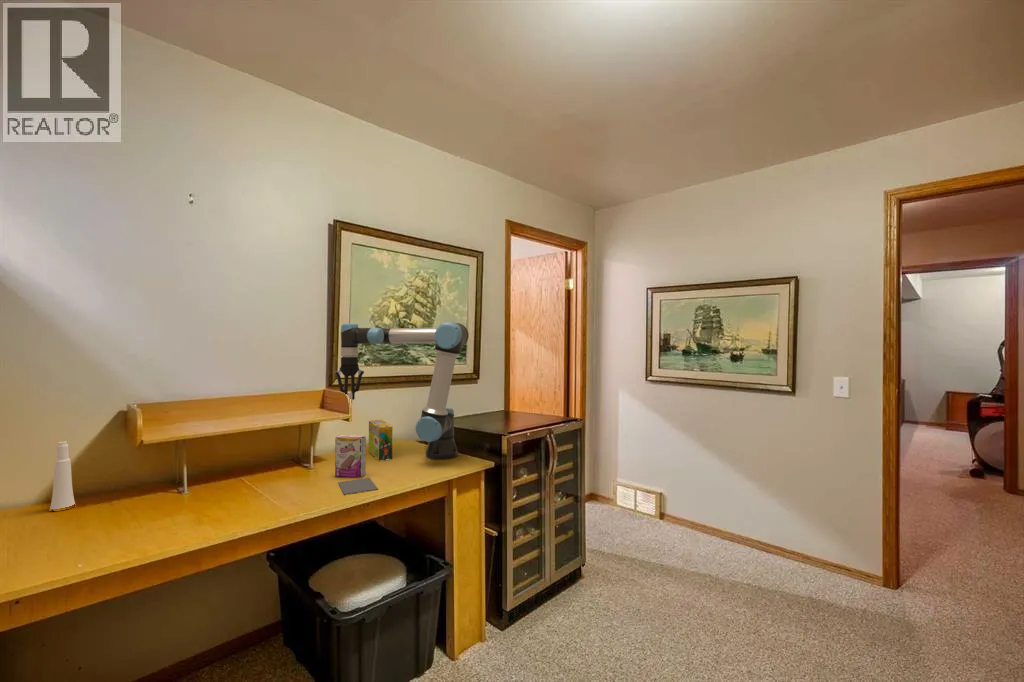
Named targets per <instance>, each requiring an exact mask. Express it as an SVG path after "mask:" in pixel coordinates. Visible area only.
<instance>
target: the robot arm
mask: <svg viewBox="0 0 1024 682" xmlns="http://www.w3.org/2000/svg"><path fill="white" fill-rule="evenodd" d="M469 334H470V333H469V330H468V328H467V327H466V326H465V325H464V324H462V323H459V322H454V321H448V322H447V321H446V322H443V323H440V324H439V325H438V326H437V327H407V328H406V327H405V328H404V327H401V328H399V327H398V328H396V327H392V328H391V327H390V328H389V327H388V328H384V327H383V328H381V327H359V324H358V323H342V324H341V328H340V356H341V357H340V367H339V369H338V370H336V371H334V374H335V376H336V379H337V383H338V388H339V392H341V393H343V394H344V393H345V394H347V395H348V396H349V400H350V399H351V403H352V404H353V401H354V400H355V399H356V397H355V396H356V395H355V393H358V392H359V391H360V386H361V382H362V377H363V375H364V373H365V371H364V370H362V369H360V367H359V357H358V356H359V345H361V344H362V345H379V344H381V345H386V344H388V345H390V344H393V345H394V344H395V345H396V344H407V345H408V344H420V345H421V344H435V346H434V351H435V352H436V358H435V362H434V367H433V372H432V373H433V374H432V378H431V384H430V387H429V388H430V389H429V393H428V397H427V402H426V406H424V407H423V408H422V411H421V416H420V418H419V419H418V420H417V422H416V424H415V433H416V434H417V436H418V438H419V439H420V440H422V441H424V442H427V446H426V450H425V457H426V458H427V459H430V460H447V459H448V460H449V459H454V458H455V457H457V456H458V448H457V445H456V441H455V437H454V436H455V413H454V412H455V411H454V409H453V408H450V407H447V404H448V399H449V394H450V389H451V385H452V379H453V374H454V369H455V364H456V361H457V357H459V356H460V355H461V353H462V351H461V350H462V347H463V346H465V345H466V344H467V342H468V340H469V337H470V336H469ZM357 373H358V375H357V379H356V385H355V377H356V374H357ZM341 375H343V376H344V377H343V378H344V381H343V382H344V383H343V382H342V378H341ZM349 377H350V390H351V391H350V392H348V389H349ZM343 384H344V385H343Z"/></svg>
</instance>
